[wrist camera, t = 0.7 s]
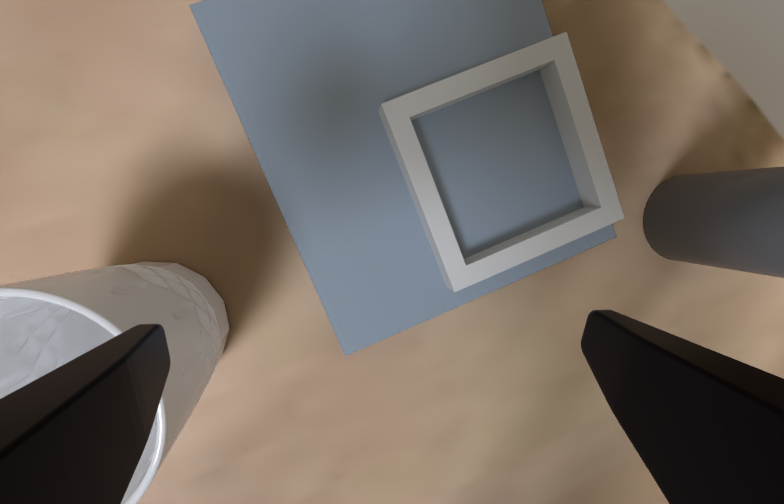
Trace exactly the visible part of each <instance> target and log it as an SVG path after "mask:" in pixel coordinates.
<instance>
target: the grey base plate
mask: <svg viewBox="0 0 784 504" xmlns="http://www.w3.org/2000/svg"><path fill="white" fill-rule="evenodd" d="M189 6H190V8H191V11H192V13H193V15H194V17H195V20H196V22H197V24H198V26H199V29H200V31H201V33H202V35H203V38H204V40H205V42H206V44H207V47H208V49H209V51H210V53H211V56H212V58H213V60H214V62H215V65H216V67H217V69H218V71H219V74H220V76H221V78H222V80H223V83H224V85H225V87H226V89H227V92H228V94H229V96H230V98H231V101H232V103H233V105H234V107H235V110H236V112H237V114H238V116H239V119H240V121H241V123H242V125H243V127H244V130H245V132H246V134H247V136H248V139H249V141H250V143H251V145H252V148H253V150H254V152H255V154H256V157H257V159H258V161H259V163H260V166H261V168H262V170H263V172H264V175H265V177H266V179H267V181H268V184H269V186H270V188H271V190H272V193H273V195H274V197H275V199H276V202H277V204H278V206H279V208H280V211H281V213H282V215H283V217H284V220H285V222H286V224H287V226H288V229H289V231H290V233H291V235H292V238H293V240H294V242H295V244H296V247H297V249H298V251H299V253H300V256H301V258H302V260H303V262H304V265H305V267H306V269H307V271H308V274H309V276H310V278H311V280H312V283H313V285H314V287H315V289H316V291H317V294H318V296H319V298H320V300H321V303H322V305H323V307H324V309H325V312H326V314H327V316H328V318H329V321H330V323H331V325H332V327H333V330H334V332H335V334H336V336H337V339H338V341H339V343H340V345H341V348H342V350H343V352H344V354H345V356H347V355H349V354H351V353H354V352H356V351H358V350H360V349H363V348H365V347H367V346H370V345H372V344H374V343H376V342H379V341H381V340H383V339H385V338H388V337H390V336H392V335H395V334H397V333H399V332H401V331H404V330H406V329H408V328H410V327H413V326H415V325H417V324H420V323H422V322H424V321H426V320H429V319H431V318H433V317H435V316H438V315H440V314H442V313H444V312H447V311H449V310H451V309H454V308H456V307H458V306H460V305H463V304H465V303H467V302H469V301H472V300H474V299H476V298H479V297H481V296H483V295H485V294H488V293H490V292H492V291H494V290H497V289H499V288H501V287H504V286H506V285H508V284H510V283H513V282H515V281H517V280H519V279H522V278H524V277H526V276H529V275H531V274H533V273H535V272H538V271H540V270H542V269H544V268H547V267H549V266H551V265H554V264H556V263H558V262H560V261H563V260H565V259H567V258H569V257H572V256H574V255H576V254H579V253H581V252H583V251H585V250H588V249H590V248H592V247H594V246H597V245H599V244H601V243H604V242H606V241H608V240H610V239H613V238H615V237H616V234H615V231H614V228H613V224H612V223H615V222H617V221H619V220H622V219H624V215H623V212H622V208H621V205H620V202H619V199H618V196H617V192H616V189H615V186H614V183H613V179H612V176H611V173H610V170H609V167H608V163H607V160H606V157H605V154H604V150H603V147H602V144H601V141H600V138H599V134H598V131H597V128H596V125H595V121H594V118H593V115H592V112H591V109H590V105H589V102H588V99H587V96H586V92H585V89H584V86H583V83H582V80H581V76H580V73H579V70H578V67H577V63H576V60H575V57H574V54H573V51H572V47H571V44H570V41H569V38H568V34H567V32H564V33H562V34H559V35H556V36H554V37H553V34H552V31H551V28H550V25H549V22H548V19H547V15H546V12H545V9H544V6H543V3H542V0H203V1H201V2H198V3H195V4H192V5H189Z"/></svg>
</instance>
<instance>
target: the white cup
mask: <svg viewBox="0 0 784 504" xmlns="http://www.w3.org/2000/svg"><path fill="white" fill-rule="evenodd" d="M139 324H160V325H162V326H163V328H164V330H165V335H166V340H167V344H168V349H169V354H170V362H171V363H170V370H169V374H168V377H167V380H166V383H165V387H164V390H163V393H162V397H161V400H160V403H159V406H158V410H157V413H156V416H155V419H154V423H153V426H152V429H151V432H150V435H149V438H148V441H147V444H146V446H145V449H144V451H143V454H142V456H141V458H140V461H139V463H138V465H137V467H136V470H135V472H134V474H133V477H132V479H131V481H130V483H129V486H128V488H127V490H126V493H125V495H124V497H123V500H122V502H121V504H136V503H137V502H138V501H139V500H140V498H141V497H142V496H143V494H144V493H145V491H146V490H147V488H148V487H149V485H150V484H151V482H152V480H153V478H154V477H155V475H156V473H157V471H158V470H159V468H160V466H161V464H162V463H163V461H164V459H165V458H166V456H167V454H168V452H169V451H170V449H171V447H172V446H173V444H174V442H175V441H176V439H177V437H178V436H179V434H180V432H181V430H182V429H183V427H184V425H185V424H186V422H187V420H188V419H189V417H190V415H191V414H192V412H193V410H194V408H195V407H196V405H197V403H198V401H199V399H200V397H201V395H202V393H203V391H204V389H205V388H206V386H207V384H208V382H209V380H210V378H211V376H212V374H213V372H214V369H215V367H216V365H217V364H218V362H219V360H220V359H221V357H222V354H223V351H224V347H225V343H226V340H227V336H228V333H229V329H230V328H229V323H228V319H227V314H226V309H225V305H224V300H223V299H222V298H221V297H220V295H219V294H218V293H217V292H216V290H215V289H214V288H213V286H212V285H211V284H210V283H209V281H208V280H207V279H206V278H205V277H204V276H202V275H200V274H198V273H196V272H194V271H192V270H190V269H188V268H186V267H184V266H182V265H180V264H178V263H168V262H147V261H144V262H138V263H134V264H125V265H114V266H106V267H101V268H94V269H87V270H80V271H75V272H69V273H64V274H59V275H53V276H48V277H43V278H37V279H32V280H27V281H21V282H16V283H10V284H5V285H0V399H1V398H3V397H5V396H7V395H8V394H10V393H12V392H14V391H16V390H18V389H19V388H21V387H23V386H25V385H27V384H29V383H31V382H32V381H34V380H36V379H38V378H40V377H42V376H43V375H45V374H47V373H49V372H51V371H53V370H55V369H56V368H58V367H60V366H62V365H64V364H66V363H68V362H69V361H71V360H73V359H75V358H77V357H79V356H80V355H82V354H84V353H86V352H88V351H90V350H92V349H93V348H95V347H97V346H99V345H101V344H103V343H104V342H106V341H108V340H110V339H112V338H114V337H116V336H117V335H119V334H121V333H123V332H125V331H127V330H129V329H130V328H132V327H134V326H136V325H139Z"/></svg>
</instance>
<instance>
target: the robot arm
mask: <svg viewBox="0 0 784 504" xmlns="http://www.w3.org/2000/svg"><path fill="white" fill-rule="evenodd" d="M581 348H582V352H583V354H584V356H585V358H586V360H587V362H588V364H589V366H590V368H591V370H592V372H593V374H594V376H595V378H596V380H597V382H598V384H599V386H600V388H601V390H602V392H603V394H604V396H605V398H606V400H607V402H608V404H609V406H610V408H611V410H612V412H613V413H614V415H615V417H616V418H617V420H618V422H619V423H620V425H621V427H622V428H623V430H624V431H625V433H626V435H627V436H628V438H629V439H630V441H631V443H632V444H633V446H634V447H635V449H636V451H637V452H638V454H639V456H640V457H641V459H642V460H643V462H644V464H645V465H646V467H647V468H648V470H649V472H650V473H651V475H652V476H653V478H654V480H655V481H656V483H657V484H658V486H659V488H660V489H661V491H662V492H663V494H664V496H665V497H666V499H667V500H668V502H669V504H784V379H783V378H780V377H778V376H775V375H773V374H770V373H768V372H765V371H763V370H760V369H758V368H755V367H753V366H750V365H748V364H745V363H743V362H740V361H738V360H735V359H733V358H730V357H728V356H725V355H723V354H720V353H717V352H715V351H712V350H710V349H707V348H705V347H702V346H700V345H697V344H695V343H692V342H690V341H687V340H685V339H682V338H680V337H677V336H675V335H672V334H670V333H667V332H665V331H662V330H660V329H657V328H655V327H652V326H650V325H647V324H645V323H642V322H640V321H637V320H635V319H632V318H630V317H627V316H625V315H622V314H620V313H617V312H615V311H612V310H593V311H592V312H590V314H589V315H588V318H587V321H586V325H585V329H584V332H583V336H582V339H581ZM170 363H171V362H170V354H169V349H168V344H167V340H166V335H165V330H164V328H163V326H162V325H160V324H139V325H136V326H134V327H132V328H130V329H129V330H127V331H125V332H123V333H121V334H119V335H117V336H116V337H114V338H112V339H110V340H108V341H106V342H104V343H103V344H101V345H99V346H97V347H95V348H93V349H92V350H90V351H88V352H86V353H84V354H82V355H80V356H79V357H77V358H75V359H73V360H71V361H69V362H68V363H66V364H64V365H62V366H60V367H58V368H56V369H55V370H53V371H51V372H49V373H47V374H45V375H43V376H42V377H40V378H38V379H36V380H34V381H32V382H31V383H29V384H27V385H25V386H23V387H21V388H19V389H18V390H16V391H14V392H12V393H10V394H8V395H7V396H5V397H3V398H1V399H0V504H121V502H122V500H123V497H124V495H125V493H126V490H127V488H128V486H129V483H130V481H131V479H132V477H133V474H134V472H135V470H136V467H137V465H138V463H139V461H140V458H141V456H142V454H143V451H144V449H145V446H146V444H147V441H148V438H149V435H150V432H151V429H152V426H153V423H154V419H155V416H156V413H157V410H158V406H159V403H160V400H161V397H162V393H163V390H164V387H165V383H166V380H167V377H168V374H169V370H170Z"/></svg>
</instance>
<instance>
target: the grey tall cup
mask: <svg viewBox="0 0 784 504" xmlns="http://www.w3.org/2000/svg"><path fill="white" fill-rule="evenodd" d="M643 228H644V233H645V236H646V239H647V241H648V243H649V244H650V246H651V247H652V248H653V249H654V251H656V252H657V253H658V254H659V255H661V256H663V257H665V258H667V259H671V260H677V261H683V262H689V263H695V264H701V265H707V266H713V267H720V268H726V269H732V270H738V271H744V272H750V273H757V274H763V275H769V276H775V277H781V278H784V167H773V168H761V169H750V170H738V171H726V172H715V173H703V174H691V175H681V176H676V177H672V178H670V179H668V180H666V181H664V182H663V183H662V184H660V185H659V186H658V187H657V188H656V189H655V190H654V192H653V193H652V194H651V196H650V198H649V199H648V202H647V204H646V207H645V210H644V216H643Z"/></svg>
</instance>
